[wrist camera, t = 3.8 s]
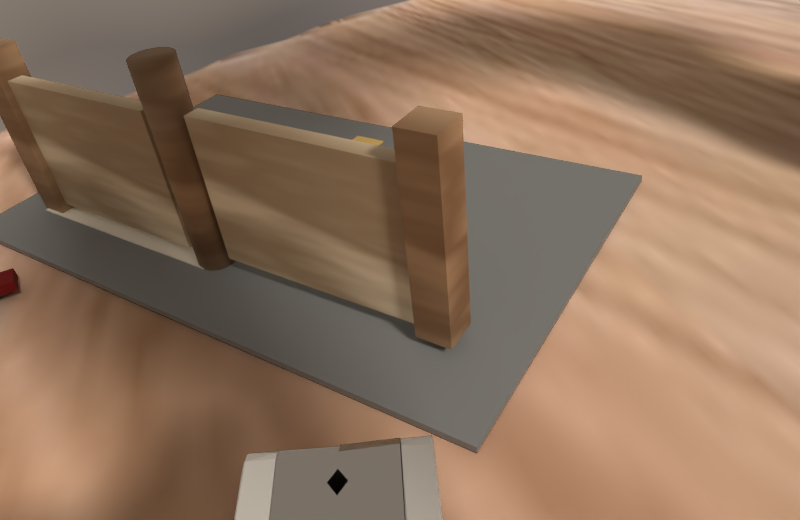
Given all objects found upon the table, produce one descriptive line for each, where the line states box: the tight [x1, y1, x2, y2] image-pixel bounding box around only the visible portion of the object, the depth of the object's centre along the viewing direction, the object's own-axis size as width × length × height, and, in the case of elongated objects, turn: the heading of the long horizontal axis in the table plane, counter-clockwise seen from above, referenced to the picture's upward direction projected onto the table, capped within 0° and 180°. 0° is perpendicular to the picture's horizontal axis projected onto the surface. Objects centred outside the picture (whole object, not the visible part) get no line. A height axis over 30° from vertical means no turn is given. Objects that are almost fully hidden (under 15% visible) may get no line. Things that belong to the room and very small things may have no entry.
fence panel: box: [184, 106, 471, 350], centre depth 32 cm, size 2×15×11 cm, turn 58°
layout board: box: [0, 95, 642, 453], centre depth 44 cm, size 24×39×1 cm, turn 58°
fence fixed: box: [0, 38, 235, 271], centre depth 40 cm, size 2×18×13 cm, turn 58°
